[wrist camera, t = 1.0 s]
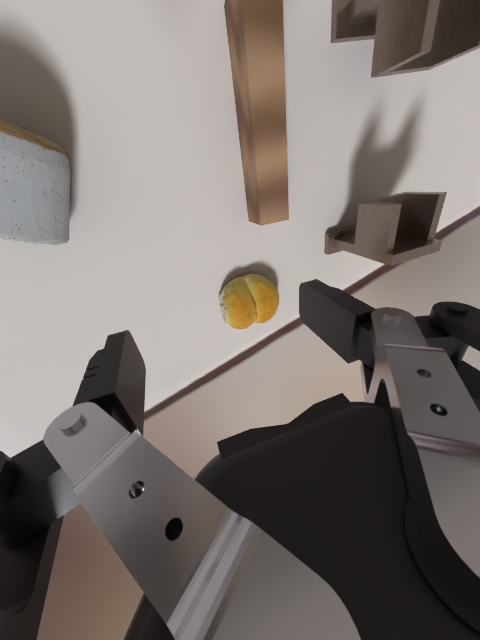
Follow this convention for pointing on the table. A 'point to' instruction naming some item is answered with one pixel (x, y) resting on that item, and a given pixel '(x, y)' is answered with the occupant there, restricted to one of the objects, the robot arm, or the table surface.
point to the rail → (260, 104)
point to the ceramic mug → (33, 188)
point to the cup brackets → (396, 58)
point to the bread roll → (248, 301)
